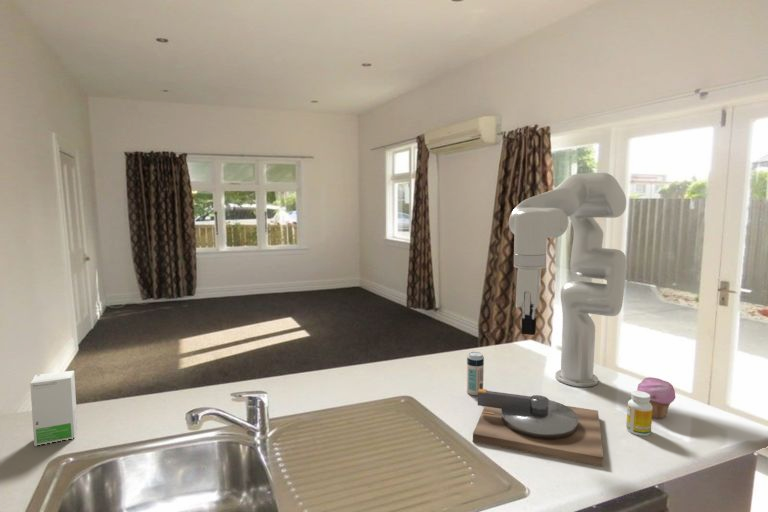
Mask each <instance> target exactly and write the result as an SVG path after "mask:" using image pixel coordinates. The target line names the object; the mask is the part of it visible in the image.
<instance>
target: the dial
mask: <svg viewBox="0 0 768 512" xmlns="http://www.w3.org/2000/svg"><path fill="white" fill-rule="evenodd" d="M477 406H479V407H485V406H486V407H493V408H500V409H502V411H501V418H502V421H503V422H504V423H505V424H506V425H507V426H508V427H509V428H511V429H512V430H514V431H516V432H519V433H521V434H524V435H527V436H531V437H536V438H543V439H558V438H564V437H568V436H570V435H572V434H574V433H575V432H576V431H577V429H578V416H577V415H576V413H575V412H574V411H573V410H572V409H570V408H569V407H567V406H568V405H565V404H562V403H560V402H559V401H558V402H557V401H555V400H550V399H549V398H548V397H547V396H544V395H538V394H536V395H530V396H529V395H521V394H515V393H507V392H499V391H493V390H492V391H491V390H487V389H484V388H483V389H479V390H478V396H477Z"/></svg>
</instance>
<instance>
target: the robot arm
mask: <svg viewBox="0 0 768 512" xmlns="http://www.w3.org/2000/svg"><path fill="white" fill-rule="evenodd" d="M626 208H627V197H626V194H625V191H624V190H623V188H622V187H621V185H620V183H619V182H618V180H617V179H616V178H615V177H614V176H613V175H612V174H611V173H608V172H589V173H586V172H585V173H575V174H571V175H568V176H567V177H566V178H565V179H564V180H562V181H561V183H559V185H557V186H556V187H555V188H554V189H552V190H549V191H545V192H543V193H539V194H537V195H534V196H531V197H529V198H526V199H524V200H522V201H521V202H520V203H519V204H517V206H515V207H514V209H513V210H512V211H511V213H510V216H509V219H508V228H509V230H510V232H511V233H512V234H513V235H514V237H513V239H514V242H513V244H514V245H513V267H514V268H516V269H517V275H516V287H515V288H516V290H515V291H516V292H515V308H516V309H519V308H521V306H522V317H521V334H522V335H529V336H535V335H536V333H537V327H536V326H537V317H536V309H537V308H538V305H539V302H540V301H539V300H540V297H541V278H542V277H541V276H542V269H546V268H547V248H548V247H547V239H552V238H553V239H555V238H559V237H561V236H562V235H564V234H565V233H566V231H567V229H568V228H569V219H570V222H571V225H572V228H573V241H572V248H571V255H570V263H569V264H570V265H569V266H570V267H569V268H570V269H569V271H570V273H572V274H573V275H574V276H576V277H580V278H586V279H587V278H588V279H596V280H603V281H604V280H605V281H606V283H599V282H594V281H593V282H592V281H591V282H590V281H583V280H572V281H567V282H566V283H564V284H563V285H562V287H561V289H560V303H561V310H562V312H561V313H562V331H561V353H560V354H561V358H560V369H559V370H557V371H556V372H555V375H554V376H555V378H556V380H557V381H559V382H560V383H562V384H565V385H568V386H573V387H580V388H581V387H583V388H587V387H588V388H589V387H590V388H591V387H593V386H596V385H598V384H599V377H598V376H597V375H595V374H594V367H595V364H594V362H595V346H596V345H595V344H596V325H595V322H594V320H593V319H592V317H591V314H592V315H597V316H598V315H599V316H605V317H616V316H618V315H619V314H620V312H621V310H622V307H623V303H624V295H625V288H626V287H625V286H626V280H627V279H626V278H627V270H628V261H627V256H626V254H625V253H624V252H623V251H622V250H619V249H618V248H617V249H615V248H604V247H603V241H604V231H603V229H602V227H601V225H599V223H598V222H597V221H596V220H595V219H594V218H602V219H603V218H608V219H609V218H611V219H613V218H614V219H615V218H619V217H621V216H622V215H623V214H624V213H625V211H626Z"/></svg>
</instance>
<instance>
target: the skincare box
mask: <svg viewBox="0 0 768 512" xmlns="http://www.w3.org/2000/svg"><path fill="white" fill-rule="evenodd" d="M75 379H76V378H75V370H65V371H55V372H49V373H43V374H42V373H40V374H35V375H34V376H33V378H32V380H31V382H30V399H31V400H30V402H31V416H32V430H33V444H34V447H38V446H37V445H40V446H42V445H41V444H45V445H48V444H47V443H50V444H53V443H52V442H56V443H58V442H57V441H61V442H63V441H62V440H66V441H68V440H67V439H72V438H74V439H75V438H76V435H77V431H78V414H77V413H78V411H77V400H76V398H77V397H76V396H77V395H76V381H75ZM72 440H73V439H72Z"/></svg>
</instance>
